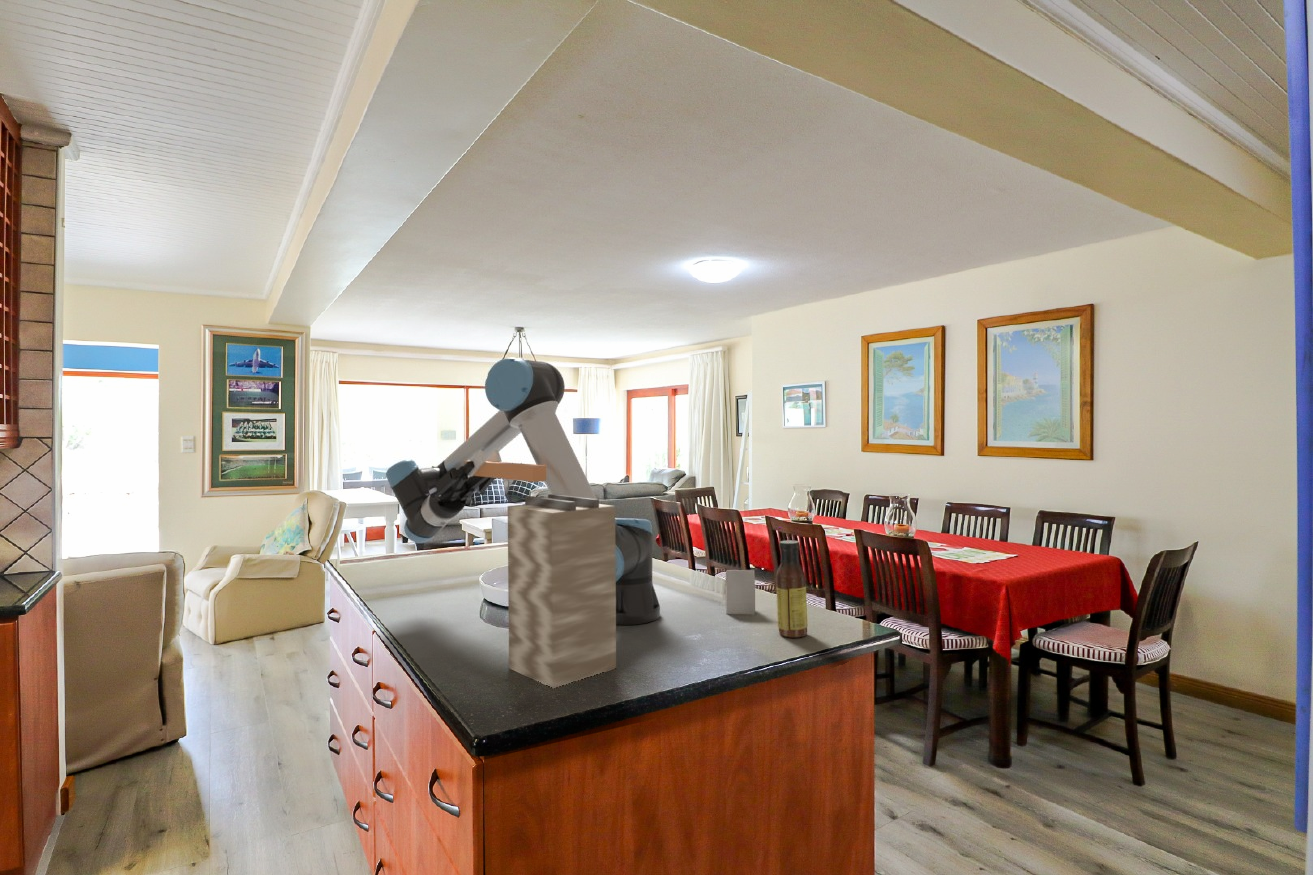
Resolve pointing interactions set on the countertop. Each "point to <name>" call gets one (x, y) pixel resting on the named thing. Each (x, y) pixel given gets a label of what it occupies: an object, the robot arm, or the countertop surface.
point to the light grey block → (740, 592)
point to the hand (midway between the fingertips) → (490, 456)
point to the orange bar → (512, 471)
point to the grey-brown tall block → (561, 588)
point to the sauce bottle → (791, 592)
